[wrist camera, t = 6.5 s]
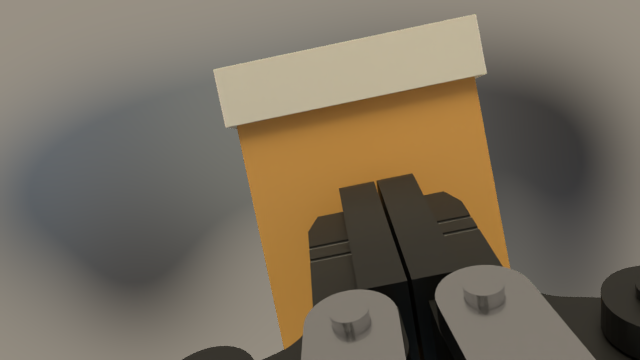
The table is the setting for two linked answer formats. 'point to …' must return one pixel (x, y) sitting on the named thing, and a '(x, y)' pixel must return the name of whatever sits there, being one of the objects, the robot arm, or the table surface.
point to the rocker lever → (357, 137)
